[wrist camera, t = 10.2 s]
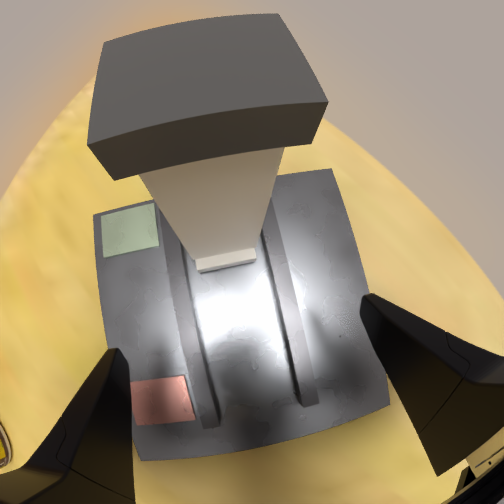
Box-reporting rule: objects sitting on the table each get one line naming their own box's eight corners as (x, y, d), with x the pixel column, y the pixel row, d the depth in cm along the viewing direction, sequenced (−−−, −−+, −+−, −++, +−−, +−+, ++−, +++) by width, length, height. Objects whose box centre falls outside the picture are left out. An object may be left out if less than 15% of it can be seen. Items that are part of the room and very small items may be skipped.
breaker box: (375, 397, 15) (399, 408, 12) (150, 447, 14) (135, 468, 11) (322, 183, 18) (336, 159, 15) (106, 225, 17) (85, 208, 14)
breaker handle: (263, 259, 14) (330, 106, 4) (191, 274, 14) (86, 150, 3) (250, 203, 15) (276, 11, 4) (181, 217, 15) (104, 39, 4)
